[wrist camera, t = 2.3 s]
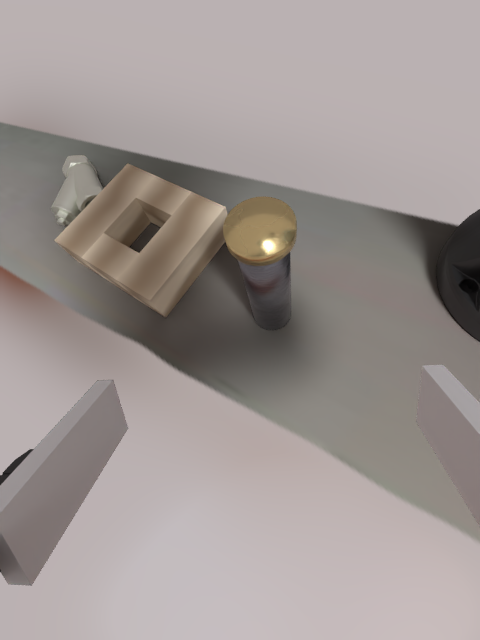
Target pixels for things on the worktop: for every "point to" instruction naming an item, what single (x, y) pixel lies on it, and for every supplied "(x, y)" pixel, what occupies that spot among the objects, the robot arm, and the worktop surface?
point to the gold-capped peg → (264, 256)
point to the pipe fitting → (76, 189)
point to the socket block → (161, 251)
